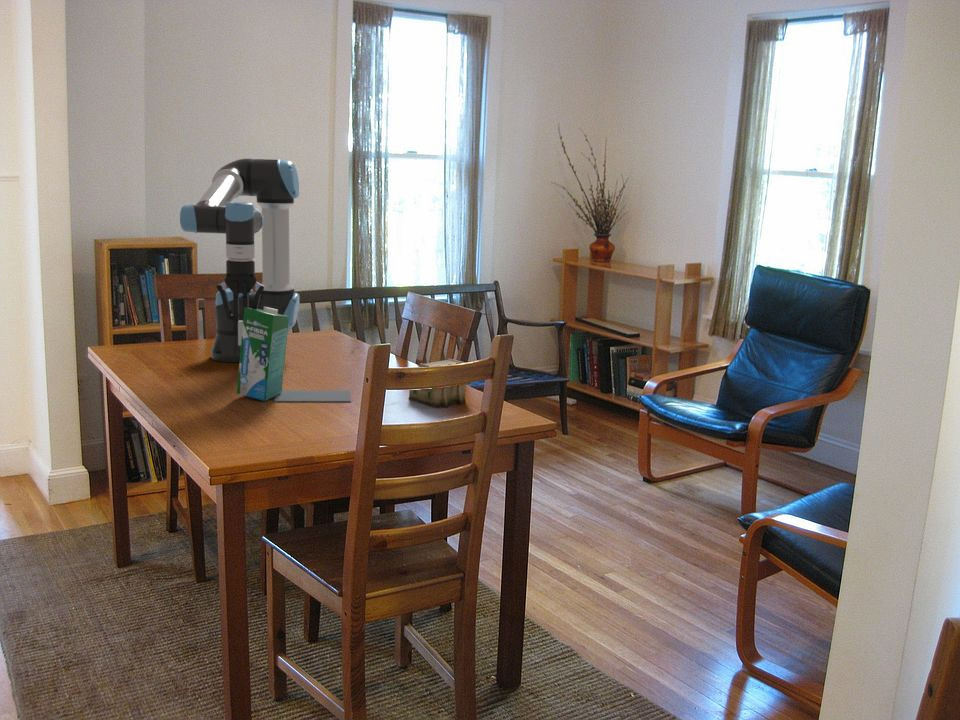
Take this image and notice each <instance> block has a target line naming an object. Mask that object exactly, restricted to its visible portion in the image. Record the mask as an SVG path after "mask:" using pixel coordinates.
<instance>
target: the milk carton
mask: <svg viewBox="0 0 960 720" xmlns="http://www.w3.org/2000/svg"><path fill="white" fill-rule="evenodd" d="M277 313H278V310H277V309H274V308H269V307H264V309H263V310H261V309H252V308H244V318H243V329H242V340H241V352H240V362H238V363H239V364H238V365H239V366H238V375H237V377H238V378H237V387H236V394H238V395H242V396H245V397H249V398H253V399H256V400H259V401H262V402H266V401H267V400H270V399H272V398H275V396H276V395H278V394H280V393H281V392H282V390H283V381H284V374H285V373H284V370H285V363H286V362H285V361H286V352H287V343H288V333H289V330H288V329H289V328H288V324H289V317H288V316H284V315H281V314H277Z"/></svg>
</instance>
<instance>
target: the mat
mask: <svg viewBox="0 0 960 720" xmlns="http://www.w3.org/2000/svg"><path fill="white" fill-rule="evenodd" d="M273 402H274V403H352V397H351V390H350V389H346V390H345V389H344V390H343V389H342V390H341V389H335V390H334V389H331V390H329V389H326V390H324V389H282V392H281V393H280V394H278V395H276V396H274V399H273Z"/></svg>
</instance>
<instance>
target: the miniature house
mask: <svg viewBox="0 0 960 720" xmlns="http://www.w3.org/2000/svg"><path fill="white" fill-rule="evenodd" d="M456 363H466V362H464V361H460V360H456V359H452V358H446V359H444V360H443V359H442V360H438V361H431V362H427V363H419V364H418V368H419V367H429V366H437V365H448V364H456ZM466 385H467V384H466ZM466 385H457V386H451V387H443V388H432V389H421V390H409V389H408V390H409V391H408V392H409V394H408V401H412V402H415V403H418V404H422V405H425V406H428V407H432V408H435V409H438V408H445V409H448V408H449V406H452V405H460V406H462V405H464V403H466Z"/></svg>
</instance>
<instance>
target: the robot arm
mask: <svg viewBox="0 0 960 720" xmlns="http://www.w3.org/2000/svg"><path fill="white" fill-rule="evenodd" d="M239 196H241V197H255V198H256V203H257V204H258V205H259V207H260V208H261V210H260V209H258V208H256V207H255V206H254V204H253V203H251V202H249V201H248V202H247V201H233V200H234V199H237V198H238V197H239ZM299 196H300V181H299V176H298V171H297V167H296V165H295V163H293V162H292V161H291V160H284V159H279V158H278V159H265V158H263V159H262V158H241V159H236V160H234V161H232V162H229V163H227V164H225V165H224V166H222V167H221V168H219V169H218V170H217V171H216V172H215V174H213V177H212V181H211V184H210V186H209V187H208V188H207V190H206V191H205V192H204V194H203V195H202V196H201V197H200V199H199V200H198V202H196V204H195V205H193V204H190V205H189V204H187V205H186V204H185V205H183V206H182V207H181V209H180V211H179V224H180V228H181V229H182V230H183V231H184V232H186V233H195V234H224V235H225V257H226V258H227V260H226V262H225V268H226V269H225V270H226V272H225V273H226V274H225V275H226V276H225V278H224V280H223V281H222V282H221V283H218V284H217V285H216V289H217V290H218V291H217V292H216V294H215V304H214V306H215V338H214V340H213V344H212V347H211V351H210V357H211V358H212V360H213V361H216V362H221V363H240V352H241V340H242V329H243V318H244V308H252V309H261V310H263V309H264V307H269V308H274V309H277V310H278V313H277V314H281V315H284V316H288V317H289V324H288V329H292V328H293V327H294V326H296V322H297V319H298V314H299V308H300V303H301V302H300V300H301V299H300V294H299V293H298V292H295V286H294V285H293V284H292V283H291V282H290V208H291V207H292V206H293V205H294V203H295V199H298V197H299ZM260 230H261V249H262V250H261V253H262V254H261V255H262V257H261V260H262V262H261V263H262V266H261V267H262V282H261V283H260V282H258V280H257V278H256V270H255V268H256V267H255V266H256V265H255V263H256V262H255V260H254V259H255V257H256V256H255V254H256V252H255V250H256V249H255V246H256V245H255V234H256V233H258V232H259V231H260ZM227 287H228V288H227ZM254 287H255V288H254ZM253 288H254V289H255V291H254V290H253ZM211 358H210V359H211Z"/></svg>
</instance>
